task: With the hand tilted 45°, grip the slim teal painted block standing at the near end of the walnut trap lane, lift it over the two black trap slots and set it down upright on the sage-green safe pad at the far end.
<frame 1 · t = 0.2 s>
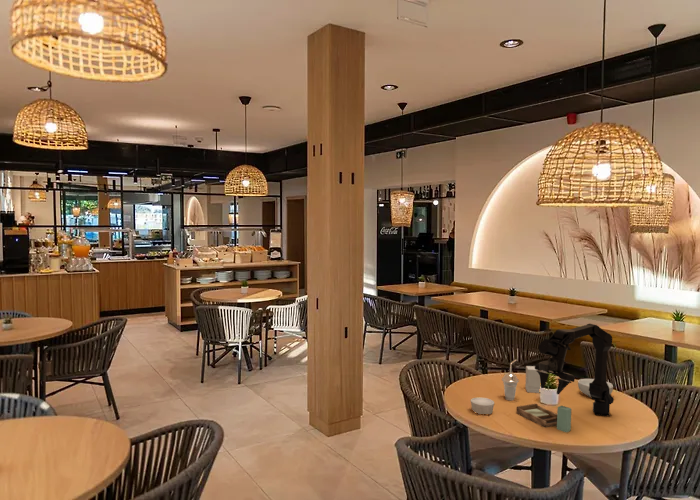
hand: (549, 391, 235), 15 cm above the table, tool tilted 15°, fingers open, 9 cm apart
ramekin: (482, 412, 250), on the table
block: (563, 429, 229), on the table
trap lane: (540, 418, 242), on the table
supplement box: (533, 391, 282), on the table
cereal bowl: (594, 396, 275), on the table
cup with straw: (510, 399, 268), on the table
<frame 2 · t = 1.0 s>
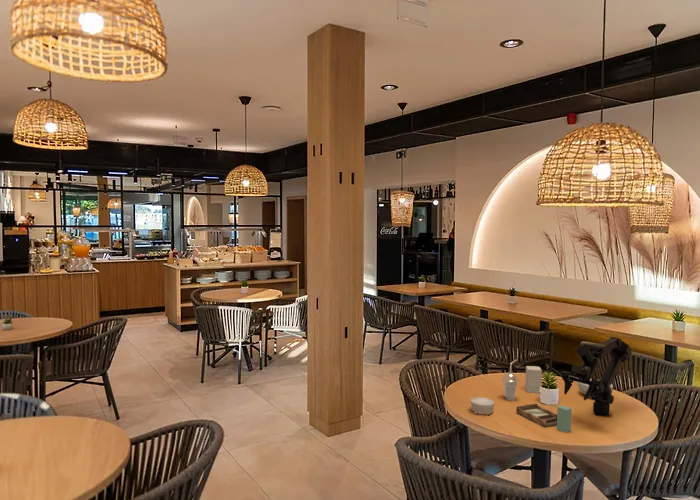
hand: (574, 396, 233), 13 cm above the table, tool tilted 45°, fingers open, 9 cm apart
nothing on the table moved.
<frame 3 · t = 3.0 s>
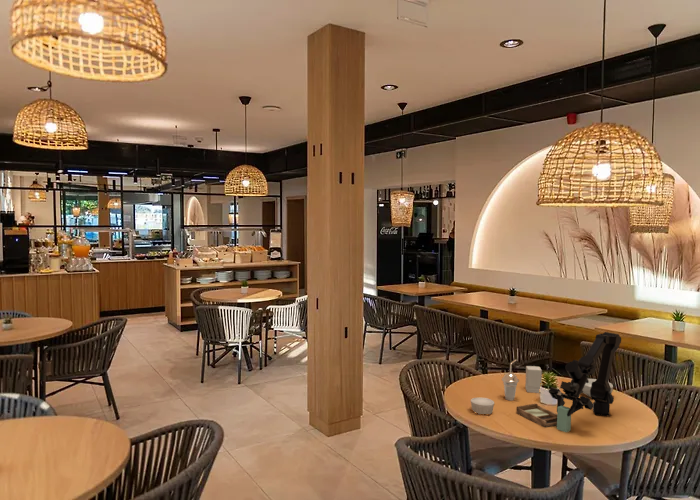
hand: (562, 414, 228), 7 cm above the table, tool tilted 45°, fingers closed on block, 4 cm apart
block: (563, 429, 229), on the table, touching gripper
everything else where it was.
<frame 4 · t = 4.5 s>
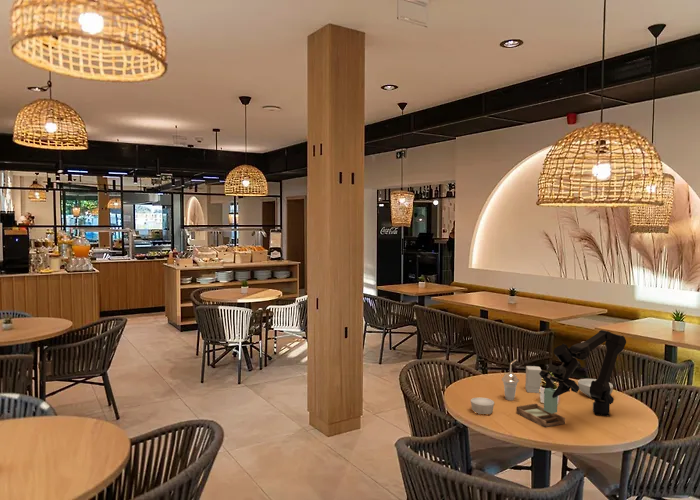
hand: (548, 395, 234), 13 cm above the table, tool tilted 45°, fingers closed on block, 4 cm apart
block: (550, 411, 235), point 6 cm above the table, touching gripper
everything else where it was.
when the fingers open (10 cm above the table, at t = 6.1 s): block drops 1 cm, resting on trap lane.
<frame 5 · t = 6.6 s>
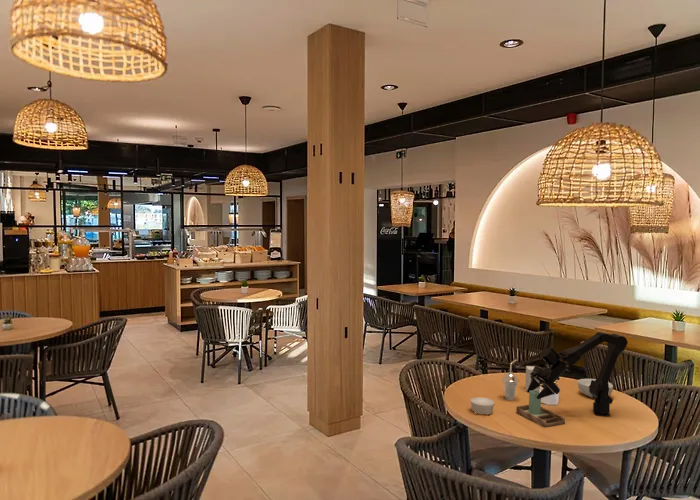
hand: (532, 395, 245), 10 cm above the table, tool tilted 45°, fingers open, 9 cm apart
block: (534, 412, 246), point 1 cm above the table, touching trap lane
everything else where it was.
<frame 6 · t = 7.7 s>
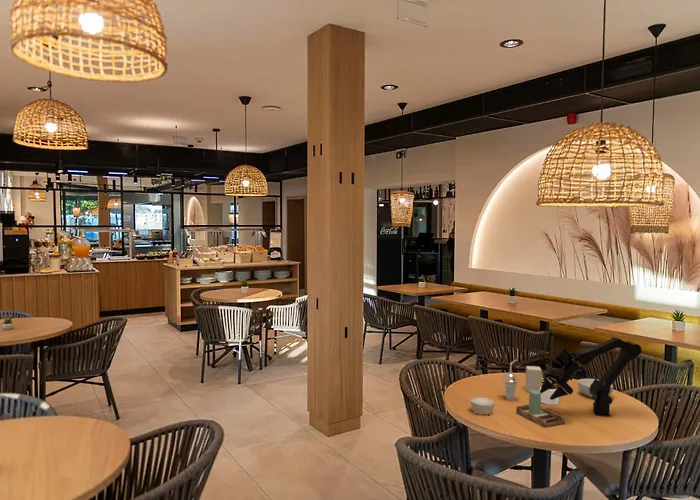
hand: (545, 395, 246), 9 cm above the table, tool tilted 45°, fingers open, 9 cm apart
nothing on the table moved.
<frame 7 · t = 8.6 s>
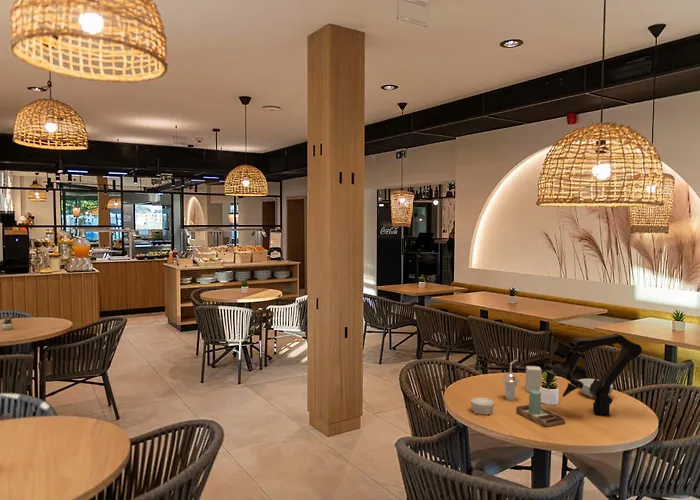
hand: (554, 391, 248), 11 cm above the table, tool tilted 25°, fingers open, 9 cm apart
nothing on the table moved.
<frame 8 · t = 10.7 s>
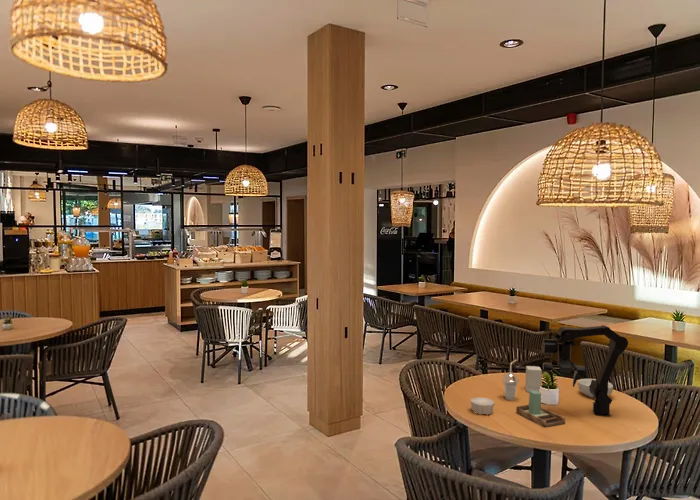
hand: (563, 385, 250), 13 cm above the table, tool pointing down, fingers open, 9 cm apart
nothing on the table moved.
at the end: block inside the target area (0.1 cm from its centre), point 1.3 cm above the table; block tilted 0°; the gripper is holding nothing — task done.
